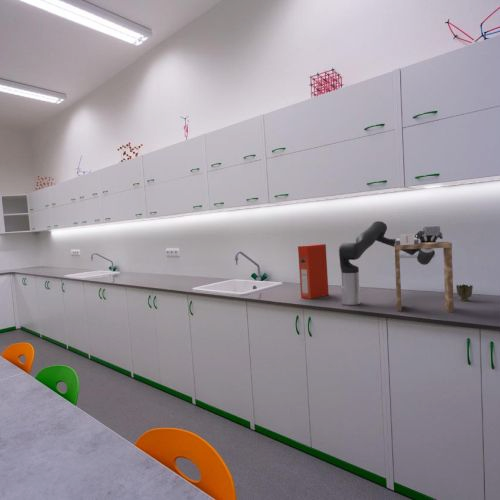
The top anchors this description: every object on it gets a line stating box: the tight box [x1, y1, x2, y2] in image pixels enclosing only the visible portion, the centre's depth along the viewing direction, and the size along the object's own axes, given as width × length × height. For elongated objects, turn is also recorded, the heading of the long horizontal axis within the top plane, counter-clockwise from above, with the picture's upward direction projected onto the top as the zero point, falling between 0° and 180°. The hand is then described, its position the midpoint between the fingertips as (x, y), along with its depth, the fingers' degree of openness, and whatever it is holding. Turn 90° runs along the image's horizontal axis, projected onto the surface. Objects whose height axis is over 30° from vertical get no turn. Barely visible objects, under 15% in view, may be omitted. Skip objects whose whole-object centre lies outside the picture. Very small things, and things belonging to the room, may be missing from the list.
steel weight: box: [423, 225, 441, 236], centre depth 178 cm, size 6×20×4 cm, turn 158°
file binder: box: [297, 243, 330, 300], centre depth 222 cm, size 8×17×32 cm, turn 131°
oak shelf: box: [394, 241, 455, 314], centre depth 173 cm, size 24×13×32 cm, turn 68°
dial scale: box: [395, 233, 420, 245], centre depth 174 cm, size 10×13×5 cm
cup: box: [455, 284, 474, 302], centre depth 186 cm, size 8×7×8 cm
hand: (429, 228), depth 182 cm, fingers closed on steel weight, 3 cm apart
